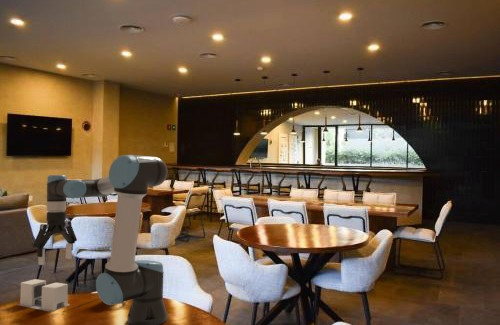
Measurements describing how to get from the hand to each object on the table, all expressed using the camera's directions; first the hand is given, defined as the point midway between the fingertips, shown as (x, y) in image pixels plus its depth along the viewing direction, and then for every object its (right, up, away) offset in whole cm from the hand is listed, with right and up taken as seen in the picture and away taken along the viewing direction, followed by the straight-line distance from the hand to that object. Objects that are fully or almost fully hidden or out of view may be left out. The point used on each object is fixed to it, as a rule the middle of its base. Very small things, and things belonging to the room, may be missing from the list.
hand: (55, 261), depth 172 cm
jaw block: (0, -19, -1) cm, 19 cm away
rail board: (-6, -20, +2) cm, 21 cm away
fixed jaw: (-12, -19, +5) cm, 23 cm away
